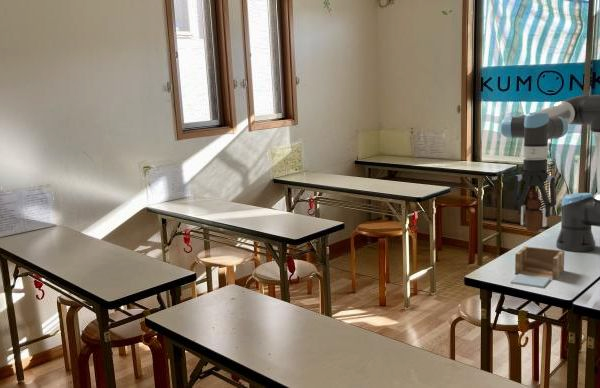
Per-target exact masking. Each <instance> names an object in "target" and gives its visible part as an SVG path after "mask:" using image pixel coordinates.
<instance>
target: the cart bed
mask: <svg viewBox="0 0 600 388" xmlns="http://www.w3.org/2000/svg"><path fill="white" fill-rule="evenodd" d="M514 260H515V261H514V262H515V263H514V267H515V269H514V270H515V271H514V275H515V276H517V275H518V274H524V275H532V276H539V277H546V278H551V279H550V280H552V281H557V279H558V278H559V277H560V275H562V273H564V271H565V250H563V249H550V248H545V247H543V248H542V247H533V246H523V247H522V248H521V249H520V250H518V252H516V253H515V258H514Z"/></svg>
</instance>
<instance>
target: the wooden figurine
mask: <svg viewBox="0 0 600 388" xmlns="http://www.w3.org/2000/svg"><path fill="white" fill-rule="evenodd" d="M526 207H527V210H525V224H524V225H525V228H526V230H527V231H530V232H535V233H536V232H539V231H541V230H542V228H543V227H542V222H543V210H541V208H542V200H541V199H540V198H539V187H538V188H535V189H534V190H533V191H532V193H530V198H529V199H528V200H527V202H526Z"/></svg>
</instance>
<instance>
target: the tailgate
mask: <svg viewBox="0 0 600 388" xmlns="http://www.w3.org/2000/svg"><path fill="white" fill-rule="evenodd" d="M551 280H552V279H551V278H546V277H539V276H532V275H524V274H518V275H515V277H514V278H513V279H512V280H511V281H510V284H515V285H519V286H520V285H521V286H528V287H534V288H541V289H544V288H545V287H546V285H547V284H548V283H549V282H550V281H551Z"/></svg>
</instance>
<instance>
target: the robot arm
mask: <svg viewBox="0 0 600 388" xmlns="http://www.w3.org/2000/svg"><path fill="white" fill-rule="evenodd" d="M569 125H577V126H578V125H581V126H589V127H590V128H589V129H590V133H593V134H594V142H595V163H596V164H595V165H596V184H597V185H596V187H597V189H596V190H597V192H596V193H595V194H594V195H593V193H591V192H578V193H577V192H576V193H569V194H565V195H564V196H563V197H562V198H561V199H562V200H561V216H560V217H561V221H560V223H561V224H560V226H561V227H560V231H559V234H558V236H557V238H556V241H555V246H556V247H557V248H558V249H559V250H562V251H567V252H568V251H569V252H578V253H579V252H591V251H595V250H596V241H595V238H594V235H593V231H592V227H598V228H600V94H591V95H590V94H589V95H587V94H585V95H578V96H575V97H574V96H573V97H571V98H567V99H565V100H561V101H559V102H555V104H554V105H553V106H550V107H547V108H543V109H540V110H536V111H533V112H527V113H526V114H524V115H519V116H509V117H508V116H507V117H504V118H503V120H502V121H501V124H500V132H501V135H502V136H503V137H505V138H511V139H518V138H519V139H524V140H523V158H524V159H523V164H522V165H523V167H522V173H521V174H516V175H514V176H513V180H514V187H513V196H512V203H513V204H515V205H517V206H518V207H517V214H518V215H519V216H520V226H524V225H525V213H526V207H527V204H526V205H525V201H526V199H527V195H528V193H529V190H530V188H531V187H533V186H535V187H538V190H539V192H540V195H541V198H542V200H543V203H544V207H543V208H542V213H543V222H542V228H545V227H546V226H548V223H547V222H548V218H549V217H550V216H551V208H552V207H555V206H556V205H557V191H556V181H557V178H558V177H557V176H552V175H549V173H548V159H547V158H548V155H549V154H548V153H549V152H548V147H549V145H548V144H549V143H548V142H549V140H553V139H555V140H557V139H560V138H563V137H564V136H566V135H567V133H568V131H569ZM522 179H523V181H524V182H525V183H524V186H523V190H522V193H521V195H520V188H521V181H522ZM546 180H547V181H548V183H549V194H550V197H549V195H548V192H547V189H546V185H545V182H546Z"/></svg>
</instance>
